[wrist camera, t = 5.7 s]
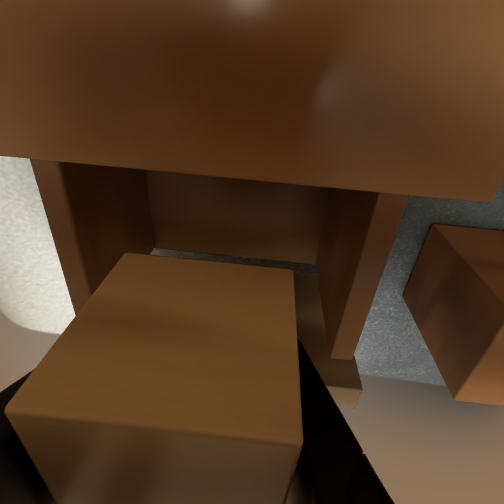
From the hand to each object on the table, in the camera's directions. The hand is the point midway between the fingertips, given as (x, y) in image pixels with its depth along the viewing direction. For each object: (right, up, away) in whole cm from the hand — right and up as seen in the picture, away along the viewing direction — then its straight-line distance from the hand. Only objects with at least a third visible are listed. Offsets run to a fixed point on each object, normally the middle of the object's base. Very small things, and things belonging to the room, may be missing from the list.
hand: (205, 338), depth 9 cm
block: (0, 0, +1) cm, 1 cm away
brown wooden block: (+13, +2, +9) cm, 16 cm away
